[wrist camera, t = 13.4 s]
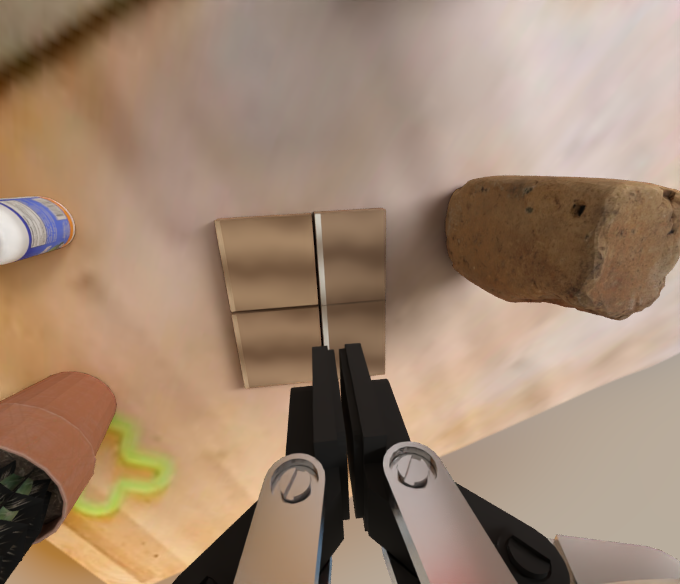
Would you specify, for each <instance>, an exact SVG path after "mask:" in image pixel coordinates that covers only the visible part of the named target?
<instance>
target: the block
mask: <svg viewBox="0 0 680 584" xmlns="http://www.w3.org/2000/svg"><path fill="white" fill-rule="evenodd" d="M445 233H446V236H447V241H446V244H447V250H448V255H449V258H450V259H451V261H452V262H453V265H452V266H453V267H454V269H455V270H456V271H457V272H458V273H459V274H461V275H462V276H464V277H465V278H466V279H467V280H469V281H470V282H472V283H474V284H475V285H477V286H479V287H481V288H482V289H484V290H485V291H487V292H489V293H491V294H492V295H494V296H496V297H498V298H501V299H503V300H505V301H508V302H515V303H516V302H539V303H541V302H547V303H553V304H557V305H560V306H563V307H570V308H576V309H577V310H580V311H585V312H588V313H592V314H596V315H600V316H604V317H607V318H610V319H614V320H623V319H626V318H628V317H629V316H630V315H631V314H633V313H635V312H639V311H642V310H643V309H644V308H646V307H649V306H651V305H652V303H653V302H654V301H655V300H656V299H657V298H658V297H659V296H660V292H661V290H662V288H663V287H664V286H665V277H666V275H667V274H668V273H669V272H670V271H671V270H672V269H673V268H674V266H675V264H676V263H677V261H678V259H679V256H680V191H678V190H676V189H671V188H666V187H663V186H659V185H655V184H652V183H645V182H638V181H628V180H618V179H605V178H585V177H554V176H515V175H514V176H490V177H483V178H477V179H473V180H470V181H468V182H467V183H466V184H465V185H464V186H463V187H462V188H459V189H457V190H455V192H454V193H453V195H452V196H451V198H450V201H449V205H448V210H447V215H446V221H445Z"/></svg>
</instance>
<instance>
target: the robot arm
mask: <svg viewBox="0 0 680 584" xmlns="http://www.w3.org/2000/svg"><path fill="white" fill-rule="evenodd" d="M339 365H340V385H341V397H340V390H339V382H338V375H337V368H336V360H335V353H334V349H331V350H328V346H316V347H312V382H313V386H305V387H294V388H291V393H290V405H289V418H288V431H287V444H286V456H285V457H282V458H281V459H280V460H278V461H277V462H275V463H274V464H273V465H272V467H271V468H270V469H269V470H268V472H267V474H266V476H265V479H264V482H263V485H262V489H261V492H260V495H259V499H258V501H257V502H256V503H254V504H253V505H252V506H251V507H250V508H249V509H248V510H247V511H246V512H245V513H244V514H243V515H242V516H241V517H240V518H239V519H238V520H237V521H236V522H235V523H234V524H233V525H231V526H230V527H229V528H228V529H227V530H226V531H225V532H224V533H223V534H222V535H221V536H220V537H219V538H218V539H217V540H216V541H215V542H214V543H213V544H212V545H211V546H210V547H208V548H207V549H206V550H205V551H204V552H203V553H202V554H201V555H200V556H199V557H198V558H197V559H196V560H195V561H194V562H193V563H192V564H191V565H190V566H189V567H188V568H187V569H185V570H184V571H183V572H182V573H181V574H180V575H179V576H178V577H177V579H176V580H175V581H174V582H173V583H172V584H331V570H332V555H333V553H334V552H335V550H336V549H337V548H338V546H339V545H340V543H341V542H342V541H343V539H344V531H343V520H348V519H350V514H349V491H348V468H347V457H348V464H349V472H350V479H351V487H352V494H353V502H354V509H355V516H356V518H363V520H364V528H365V531H368V534H369V536H370V537H371V538H372V539H374V540H375V541H376V542H377V543H378V544H380V545H381V546H382V552H383V556H384V560H385V563H386V566H387V569H388V572H389V575H390V578H391V581H392V584H680V561H679V560H677V559H676V558H674V557H673V556H671V555H669V554H667V553H665V552H663V551H662V550H659V549H655V548H651V547H648V546H641V545H634V544H627V543H619V542H611V541H603V540H595V539H588V538H580V537H572V536H564V535H556V537H555V539H548V538H546V537H545V536H543V535H542V534H540V533H539V532H537V531H536V530H535V529H533V528H532V527H530V526H528V525H527V524H525V523H523V522H522V521H520V520H518V519H517V518H515V517H513V516H511V515H510V514H508V513H506V512H505V511H503V510H501V509H500V508H498V507H496V506H494V505H492V504H491V503H489V502H488V501H486V500H484V499H483V498H481V497H479V496H477V495H476V494H474V493H472V492H470V491H469V490H467V489H466V488H464V487H462V486H461V485H459V484H457V483H455V482H454V480H453V479H452V477H451V476H450V474H449V473H448V471H447V469H446V468H445V466H444V464H443V463H442V461H441V460H440V458H439V457H438V456H437V455H436V453H435V452H434V451H432V450H431V449H430V448H428V447H427V446H425V445H422V444H420V443H416V442H411V441H410V438H409V436H408V433H407V430H406V427H405V425H404V422H403V419H402V416H401V414H400V411H399V408H398V405H397V403H396V400H395V397H394V394H393V392H392V389H391V386H390V383H389V381H388V380H387V379H380V380H371V378H370V375H369V371H368V368H367V364H366V361H365V357H364V354H363V350H362V347H361V343H352V344H345V345H344V348H342V349H339Z"/></svg>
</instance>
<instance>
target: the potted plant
mask: <svg viewBox="0 0 680 584" xmlns="http://www.w3.org/2000/svg"><path fill="white" fill-rule="evenodd" d="M115 410H116V401H115V397H114V394H113V393H112V392H111V390H110V389H109V387H108V386H106V385H105V384H104V383H103V382H102V381H100V380H99V379H97V378H95V377H92V376H90V375H88V374H83V373H79V372H62V373H58V374H55V375H52V376H50V377H48V378H46V379H44V380H42V381H40V382H38V383H36V384H34V385H32V386H30V387H28V388H26V389H24V390H22V391H20V392H18V393H16V394H14V395H12V396H10V397H8V398H6V399H4V400H2V401H0V584H4V583H5V582H6V580H7V579H8V578H9V576H10V575H11V573H12V572H13V570H14V569H15V568H16V566H17V565H18V563H19V562H20V561H22V558H23V556H24V555H25V554H26V552H27V551H28V550H29V548H30V547H31V545H32V544H36V543H39V542H41V541H42V540H44V539H45V538H47V537H48V536H50V535H52V534H53V533H55V532H56V531H57V530H58V528H59V527H60V525H61V524H62V523H63V521H64V520H65V518H66V517H67V515H68V514H69V512H70V510H71V509H72V507H73V506H74V504H75V502H76V501H77V499H78V498H79V496H80V495H81V493H82V491H83V490H84V488H85V487H86V485H87V483H88V482H89V480H90V479H91V477H92V475H93V474H94V468H95V462H96V458H95V456H96V453H97V451H98V449H99V447H100V445H101V443H102V440H103V438H104V436H105V434H106V432H107V429H108V427H109V425H110V423H111V421H112V419H113V416H114V414H115Z"/></svg>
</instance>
